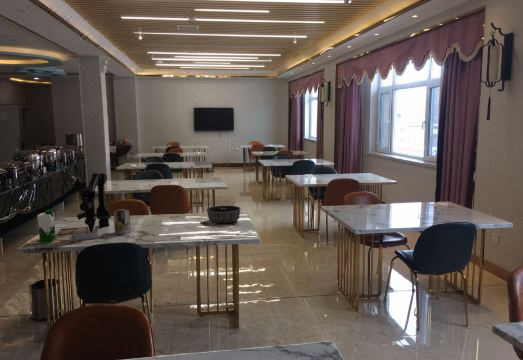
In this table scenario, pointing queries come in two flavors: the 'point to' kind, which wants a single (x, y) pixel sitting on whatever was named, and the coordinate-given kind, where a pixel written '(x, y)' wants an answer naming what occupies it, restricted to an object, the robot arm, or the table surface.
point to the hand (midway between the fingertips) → (91, 230)
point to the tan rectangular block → (81, 231)
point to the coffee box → (122, 221)
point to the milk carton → (46, 226)
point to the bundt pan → (223, 214)
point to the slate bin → (87, 235)
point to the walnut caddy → (69, 231)
